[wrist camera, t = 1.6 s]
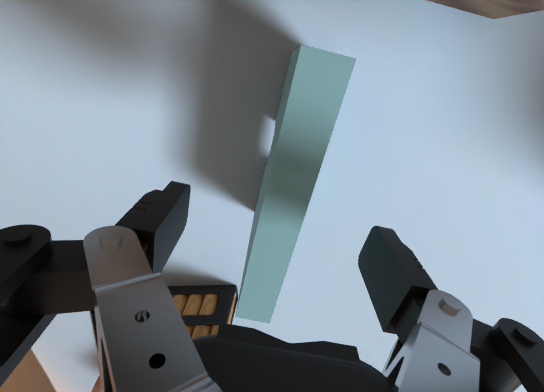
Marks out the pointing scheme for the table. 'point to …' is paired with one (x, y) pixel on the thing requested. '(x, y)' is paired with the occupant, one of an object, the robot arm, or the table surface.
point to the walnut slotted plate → (494, 6)
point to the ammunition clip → (201, 310)
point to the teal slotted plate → (291, 172)
